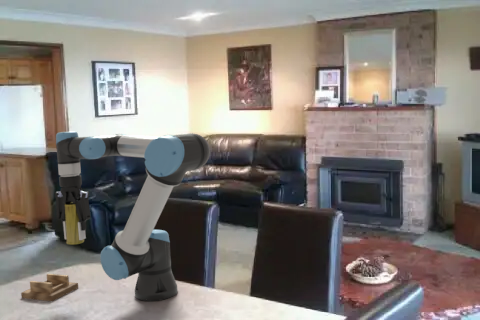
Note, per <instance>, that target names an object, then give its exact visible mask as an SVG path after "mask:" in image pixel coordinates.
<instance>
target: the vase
mask: <svg viewBox="0 0 480 320" xmlns="http://www.w3.org/2000/svg"><path fill="white" fill-rule="evenodd" d="M65 216H66V234H67V239H66V244H67V245H70V246H71V245H79V244H83V243H84V242H85V239H83V240H79V232H78V221H79V217H78V214H77V211H76V206H75V204H73V202H71V203H70V205H66V204H65Z"/></svg>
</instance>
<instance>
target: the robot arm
mask: <svg viewBox="0 0 480 320" xmlns="http://www.w3.org/2000/svg"><path fill="white" fill-rule="evenodd" d="M55 147H56V156H57V168H58V176H59V177H58V180H59V187H60V191H56V192H54V197H55V207H56V208H55V209H56V210H55V211H56V214H55V215H56V220H60V221H61V227H62V230H63V235H64V236H63V237H64V240H67V234H66V216H65V204H66V205H70V203H72V202H73V204H75V206H76V211H77V214H78V217H79V221H78V232H79V240H83V239H84V240H85V239H87V237H86V230H87V221H88V220H90V219H91V209H90V203H89V202H90V200H89V197H90V192H89V191H83V189H82V185H83V180H82V175H81V174H82V172H81V171H82V170H81V169H82V168H81V159H82V160H84V159H85V160H96V159H101V158H104V157H105V158H106V157H113V156H116V157H117V156H118V157H132V158H144V159H145V161H144V165H145V172H146V175H147V176H146V179H145V181H144V183H143V185H142V188H141V190H140V193H139V195H138V197H137V199H136V200H135V201H136V202H135V204H134V206H133V208H132V210H131V213H130V215H129V218H128V220H127V222H126V224H125V226H124V228H123V230H120V231H118V232H117V234H115V237H114V239H113V242H112V243H111V245H107V246H104V247H103V249H102V250H101V252H100V255H99V257H100V264H101V267H102V270H103V271H104V273H105V275H106V276H108V278H109V279H112V280H114V281H120V280H123V279H125V280H126V279H127V278H129V277H131V276H134V275H136V274H138V275H137V279H136V283H135V288H134V297H135V298H136V299H137V300H140V301H145V302H156V301H162V300H163V301H164V300H166V299H170V298H172V297H174V296H175V295H177V294H178V292H179V291H178V284H177V281H176V278H175V276H174V274H173V271H172V259H171V241H170V237H169V236H170V234H169V233H168V232H167V231H166V230H164V229H163V230H162V229H155V227H156V225H157V222H158V220H159V218H160V216H161V214H162V212H163V210H164V209H165V205H166V204H167V202H168V199H169V198H170V195H171V193H172V191H173V189H174V187H178V186H180V185H181V183H182V181H183V179H184V177H185V175H186V173H188V172H190V171H195V170H199V169H200V168H202V167H203V166H205V165H206V164H207V162H208V160H209V158H210V155H211V148H210V145H209V143H208V141H207V139H206V138H205V137H203V136H202V135H201V134H197V133H193V132H192V133H191V132H190V133H181V134H174V135H173V134H165V135H162V136H153V135H150V136H149V135H146V136H145V135H129V134H128V135H127V134H123V133H115V134H109V135H95V136H80V137H79V134H78V131H61V132H57V133H56V134H55Z"/></svg>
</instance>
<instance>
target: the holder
mask: <svg viewBox="0 0 480 320" xmlns="http://www.w3.org/2000/svg"><path fill="white" fill-rule="evenodd" d="M69 279H70V278H69V275H67V274H66V275H65V274H56V273H46V280H45V281H36V280H30V281H29V289H27V290H24V291H22V292H21V293H20V294H21V295H20V296H21V299H26V300H34V301H35V300H37V301H44V302H54V301H56V300H58V299H60V298H62V297H63V296H66V295H68V294H69V293H71V292H73V291H75V290H78V289H79V283H78V282H71V281H70V280H69Z"/></svg>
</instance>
